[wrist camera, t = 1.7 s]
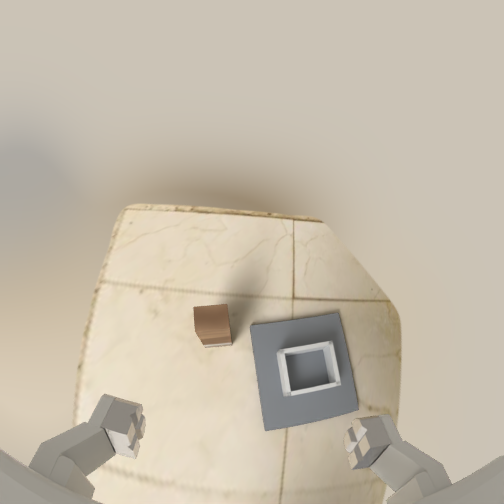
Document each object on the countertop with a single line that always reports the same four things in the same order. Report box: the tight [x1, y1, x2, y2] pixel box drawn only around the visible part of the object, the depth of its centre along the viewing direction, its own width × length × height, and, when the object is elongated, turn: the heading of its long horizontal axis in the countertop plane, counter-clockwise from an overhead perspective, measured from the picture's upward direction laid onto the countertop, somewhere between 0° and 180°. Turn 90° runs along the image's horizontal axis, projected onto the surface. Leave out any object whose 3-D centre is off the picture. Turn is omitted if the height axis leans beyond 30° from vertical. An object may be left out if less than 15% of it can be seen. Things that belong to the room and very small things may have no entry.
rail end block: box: [194, 304, 232, 348], centre depth 35 cm, size 3×4×10 cm
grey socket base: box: [250, 313, 359, 431], centre depth 36 cm, size 16×14×4 cm
